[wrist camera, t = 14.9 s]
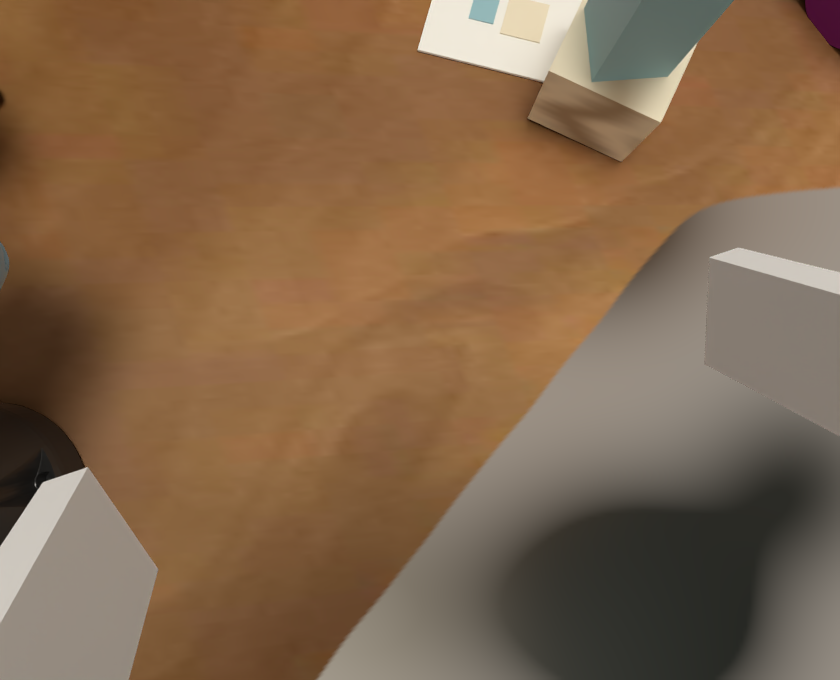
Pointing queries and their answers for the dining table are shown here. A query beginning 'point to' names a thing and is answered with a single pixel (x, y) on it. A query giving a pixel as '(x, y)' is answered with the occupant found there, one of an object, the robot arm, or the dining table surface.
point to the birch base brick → (600, 99)
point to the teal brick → (645, 35)
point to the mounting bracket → (825, 19)
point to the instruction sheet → (499, 33)
